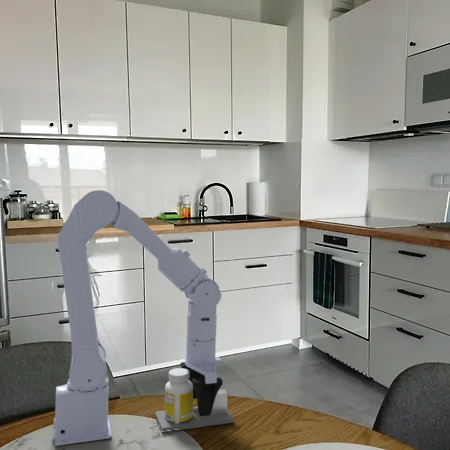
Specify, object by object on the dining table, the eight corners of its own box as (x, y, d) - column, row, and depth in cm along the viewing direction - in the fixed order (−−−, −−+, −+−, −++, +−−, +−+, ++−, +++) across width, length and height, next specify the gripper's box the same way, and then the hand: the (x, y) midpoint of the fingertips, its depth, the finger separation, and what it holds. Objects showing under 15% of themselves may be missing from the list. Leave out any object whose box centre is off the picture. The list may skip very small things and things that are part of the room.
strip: (161, 432, 82) (162, 406, 82) (155, 415, 89) (155, 391, 89) (233, 422, 87) (234, 397, 87) (222, 406, 94) (222, 384, 93)
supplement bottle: (195, 415, 90) (195, 367, 89) (190, 429, 84) (190, 377, 84) (168, 414, 90) (168, 366, 90) (161, 427, 85) (162, 376, 84)
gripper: (233, 347, 82) (231, 420, 83) (209, 326, 96) (208, 389, 96) (196, 350, 80) (194, 425, 80) (177, 328, 94) (175, 393, 94)
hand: (199, 406), depth 88 cm, fingers open, 7 cm apart
